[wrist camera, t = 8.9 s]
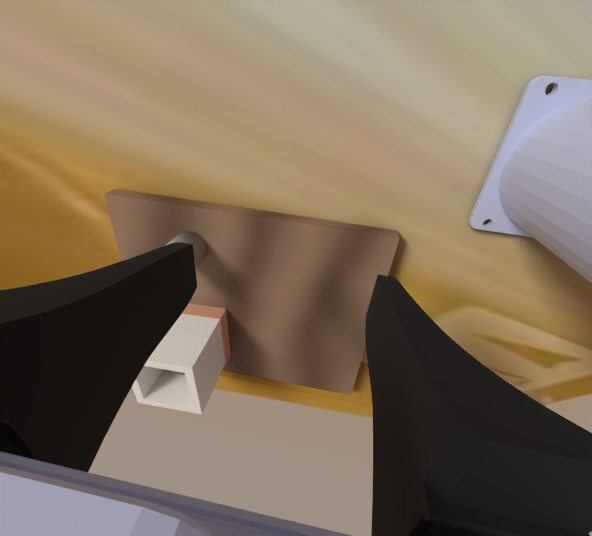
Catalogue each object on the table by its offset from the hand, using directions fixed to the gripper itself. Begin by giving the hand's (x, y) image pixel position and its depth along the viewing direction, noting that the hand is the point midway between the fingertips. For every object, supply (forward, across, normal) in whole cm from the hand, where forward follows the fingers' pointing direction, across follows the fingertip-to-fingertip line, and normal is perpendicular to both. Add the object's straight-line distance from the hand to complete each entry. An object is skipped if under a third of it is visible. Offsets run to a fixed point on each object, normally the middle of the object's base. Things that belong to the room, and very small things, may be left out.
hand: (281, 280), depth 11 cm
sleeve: (+8, +8, +12) cm, 17 cm away
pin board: (+9, +4, +9) cm, 14 cm away
